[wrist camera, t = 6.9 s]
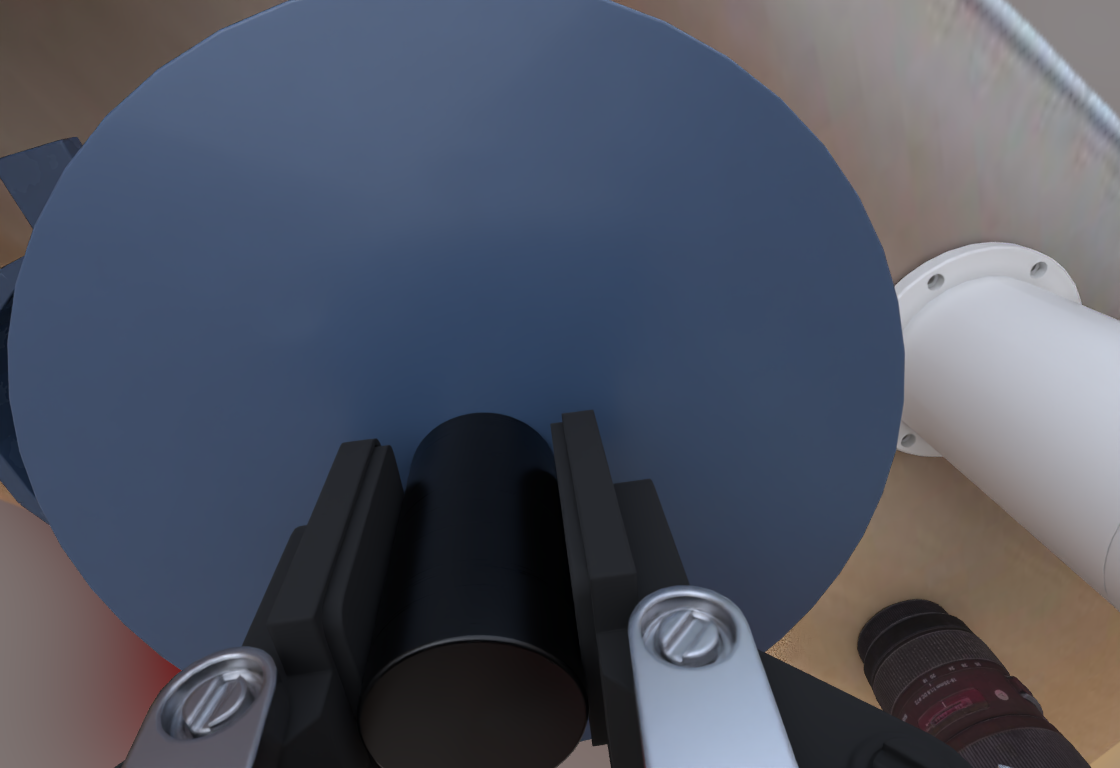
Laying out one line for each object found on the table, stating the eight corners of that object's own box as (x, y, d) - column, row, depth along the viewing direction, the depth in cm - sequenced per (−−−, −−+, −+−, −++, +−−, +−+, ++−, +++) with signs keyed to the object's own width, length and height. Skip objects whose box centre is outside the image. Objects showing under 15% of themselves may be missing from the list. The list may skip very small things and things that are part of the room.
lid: (836, -170, 9) (1340, -515, 4) (896, 615, 16) (1103, 906, 10) (-173, 166, 10) (-1001, 296, 4) (293, 777, 17) (192, 1126, 11)
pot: (312, 76, 28) (236, 84, 20) (462, 452, 37) (455, 569, 29) (-5, 172, 29) (-212, 220, 20) (219, 521, 38) (141, 657, 29)
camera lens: (866, 588, 45) (1026, 814, 32) (974, 591, 46) (1173, 810, 33) (831, 673, 48) (962, 909, 35) (932, 674, 49) (1096, 902, 36)
